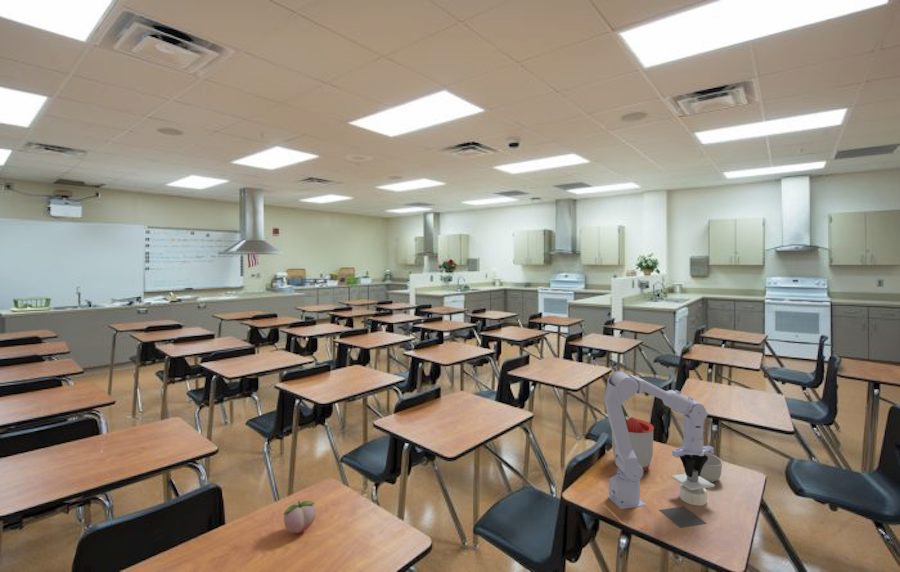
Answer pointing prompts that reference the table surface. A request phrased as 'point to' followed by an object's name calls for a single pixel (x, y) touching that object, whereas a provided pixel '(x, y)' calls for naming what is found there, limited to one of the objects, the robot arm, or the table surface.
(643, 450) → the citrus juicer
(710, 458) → the teacup
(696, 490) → the bowl
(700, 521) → the mat
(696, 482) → the lid
